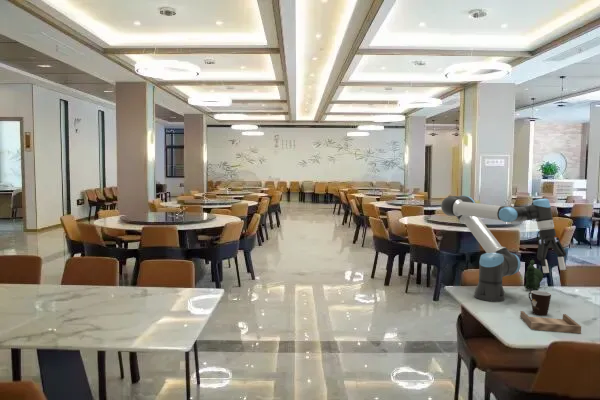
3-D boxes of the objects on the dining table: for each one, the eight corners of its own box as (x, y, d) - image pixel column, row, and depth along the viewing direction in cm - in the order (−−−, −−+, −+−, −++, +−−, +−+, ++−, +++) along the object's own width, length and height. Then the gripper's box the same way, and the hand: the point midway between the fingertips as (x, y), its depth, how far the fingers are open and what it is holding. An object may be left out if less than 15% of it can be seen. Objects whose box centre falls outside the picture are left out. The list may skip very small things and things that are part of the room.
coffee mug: (552, 317, 224) (553, 296, 224) (532, 315, 226) (533, 294, 225) (545, 310, 236) (546, 289, 235) (526, 308, 237) (527, 288, 237)
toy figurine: (538, 296, 268) (544, 284, 289) (540, 263, 265) (545, 253, 286) (520, 293, 273) (526, 281, 294) (521, 261, 270) (528, 251, 291)
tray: (531, 329, 205) (532, 322, 205) (520, 317, 223) (520, 311, 222) (580, 333, 202) (581, 326, 202) (565, 320, 219) (565, 314, 219)
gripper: (537, 230, 234) (546, 273, 231) (568, 226, 247) (576, 268, 244) (524, 231, 241) (532, 274, 238) (554, 228, 253) (562, 268, 250)
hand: (554, 271), depth 241 cm, fingers open, 13 cm apart
